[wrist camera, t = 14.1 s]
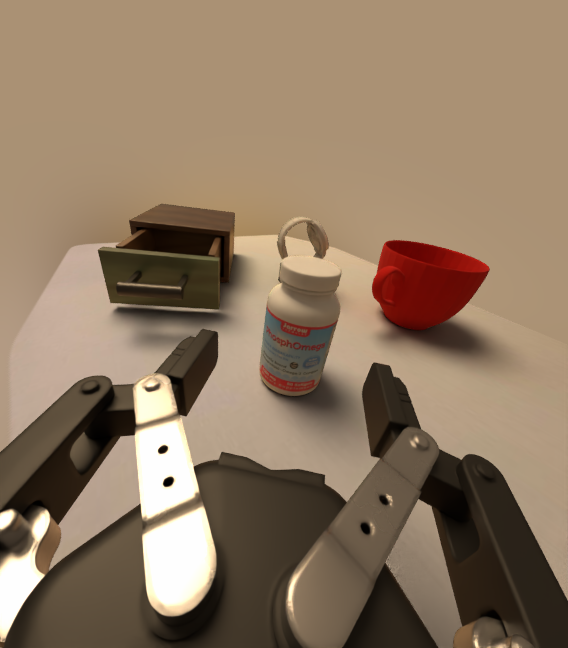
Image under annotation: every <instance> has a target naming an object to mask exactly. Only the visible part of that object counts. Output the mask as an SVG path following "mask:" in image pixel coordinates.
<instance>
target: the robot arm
mask: <svg viewBox="0 0 568 648" xmlns="http://www.w3.org/2000/svg"><path fill="white" fill-rule="evenodd" d="M217 359H218V333H217V332H216V331H211V330H206V329H202V330H201V331H200V332H199V334H198V335H197V336H196V337H191V336H190V337H189V338H187V339H185V340H183V341H182V342H181V343H180V344H179V345H178V346H177V347H176V349H175V350H174V351H173V352H172V354H171V355H170V356H169V357H168V358H167V359H166V360H165V361H164V363H163V364H162V365H161V366H160V367H159V368H158V370H157V371H156V372H155V373H154V374H149V375H146V376H144V377H142V378H140V379H139V380H138V381H137V382H136V383H135V384H127V385H112V382H111V380H110V379H109V378H108V377H106V376H91V377H87V378H84V379H82V380H80V381H78V382H77V383H75V384H74V385H73V386H72V387H71V388H70V389H69V390H68V391H66V392H65V393H64V394H63V395H62V396H61V397H60V398H59V399H58V400H57V401H56V402H54V403H53V404H52V405H51V406H50V407H49V408H48V409H47V410H46V411H45V412H44V413H42V414H41V415H40V416H39V417H38V418H37V419H36V420H35V421H34V422H33V423H32V424H31V425H29V426H28V427H27V428H26V429H25V430H24V431H23V432H22V433H21V434H20V435H19V436H17V437H16V438H15V439H14V440H13V441H12V442H11V443H10V444H9V445H8V446H7V447H6V448H5V449H3V450H2V451H1V452H0V647H2V648H438V646H437V645H436V643H435V642H434V640H433V638H432V637H431V635H430V634H429V632H428V630H427V629H426V627H425V626H424V624H423V622H422V621H421V619H420V618H419V616H418V614H417V613H416V611H415V610H414V608H413V606H412V605H411V603H410V601H409V600H408V598H407V597H406V595H405V593H404V592H403V590H402V589H401V587H400V585H399V584H398V582H397V581H396V579H395V577H394V576H393V574H392V573H391V571H390V569H389V568H388V566H387V565H386V563H385V562H386V560H387V558H388V556H389V554H390V552H391V550H392V548H393V546H394V544H395V542H396V541H397V539H398V537H399V535H400V533H401V531H402V529H403V527H404V525H405V523H406V521H407V519H408V518H409V516H410V514H411V512H412V510H413V508H414V506H415V504H416V502H417V500H418V499H420V500H421V501H423V502H425V503H427V504H428V505H430V506H432V510H433V514H434V517H435V521H436V525H437V529H438V533H439V537H440V541H441V545H442V549H443V553H444V557H445V561H446V565H447V568H448V572H449V576H450V580H451V584H452V588H453V592H454V596H455V600H456V604H457V608H458V612H459V616H460V619H461V623H462V627H461V628H459V629H458V630H457V632H456V633H455V636H454V641H453V648H568V600H567V598H566V596H565V594H564V593H563V591H562V589H561V587H560V585H559V583H558V581H557V579H556V577H555V575H554V573H553V571H552V569H551V567H550V565H549V564H548V562H547V560H546V558H545V556H544V554H543V552H542V550H541V548H540V546H539V544H538V542H537V540H536V538H535V536H534V535H533V533H532V531H531V529H530V527H529V525H528V523H527V521H526V519H525V517H524V515H523V513H522V511H521V509H520V507H519V505H518V504H517V502H516V500H515V498H514V496H513V494H512V492H511V490H510V488H509V486H508V484H507V482H506V480H505V478H504V477H503V475H502V474H501V472H500V471H499V470H498V469H497V468H496V467H495V466H494V465H493V464H492V463H491V462H489V461H488V460H486V459H484V458H482V457H480V456H478V455H473V454H468V455H466V456H465V457H464V458H463V459H462V460H461V459H458V458H456V457H454V456H452V455H450V454H448V453H446V452H444V451H442V450H440V449H439V448H438V445H437V443H436V442H435V440H434V439H433V438H432V437H431V436H430V435H429V434H428V433H426V432H425V431H423V430H421V427H420V425H419V422H418V419H417V416H416V413H415V411H414V408H413V405H412V404H411V400H410V397H409V394H408V391H407V388H406V386H405V385H404V384H403V382H402V381H401V380H400V379H399V378H397V377H393V374H392V371H391V368H390V366H389V365H384V364H378V363H373V364H372V366H371V368H370V371H369V373H368V376H367V378H366V381H365V383H364V386H363V391H362V398H363V405H364V411H365V418H366V425H367V431H368V438H369V445H370V451H371V456H373V457H378V458H380V460H379V461H378V462H377V464H376V465H375V466H374V467H373V469H372V470H371V471H370V473H369V474H368V475H367V477H366V478H365V479H364V481H363V482H362V483H361V485H360V486H359V487H358V489H357V490H356V491H355V493H354V494H353V495H352V497H351V498H350V499H349V500H348V502H346V501H345V500H344V499H343V498H342V497H341V495H340V494H338V493H337V492H336V491H335V490H333V489H332V488H331V487H329V486H327V485H326V484H325V475H323V474H318V473H314V472H309V471H305V470H300V469H292V470H270V469H268V468H266V467H264V466H262V465H260V464H258V463H256V462H255V461H253V460H251V459H249V458H247V457H243V456H238V455H234V454H229V453H225V452H222V453H221V455H220V458H219V460H213V461H208V462H204V463H201V464H199V465H196V466H194V467H193V464H192V460H191V456H190V452H189V448H188V444H187V440H186V436H185V432H184V428H183V424H182V420H181V417H180V415H182V416H187V414H188V413H189V411H190V409H191V408H192V406H193V404H194V402H195V401H196V399H197V397H198V395H199V394H200V392H201V390H202V388H203V387H204V385H205V383H206V382H207V380H208V378H209V376H210V375H211V373H212V371H213V369H214V368H215V366H216V363H217ZM130 435H135V439H136V451H137V463H138V474H139V486H140V498H141V504H139V505H138V506H136V507H135V508H134V509H132V510H131V511H129V512H128V513H127V514H125V515H124V516H122V517H121V518H120V519H118V520H117V521H115V522H114V523H112V524H111V525H110V526H108V527H107V528H105V529H104V530H103V531H101V532H100V533H98V534H97V535H96V536H94V537H93V538H91V539H90V540H89V541H87V542H86V543H84V544H83V545H81V546H80V547H79V548H77V549H76V550H74V551H73V552H72V553H70V554H69V555H67V556H66V557H65V558H63V559H62V560H61V561H60V562H58V563H57V564H56V565H55V566H54V567H53V568H52V569H51V570H50V571H49V567H50V563H51V560H52V558H53V556H54V554H55V552H56V550H57V548H58V546H59V544H60V540H61V530H60V527H59V526H58V525H59V523H60V522H61V520H62V519H63V518H64V516H65V515H66V513H67V512H68V510H69V509H70V508H71V506H72V505H73V503H74V502H75V501H76V499H77V498H78V496H79V495H80V493H81V492H82V491H83V489H84V488H85V486H86V485H87V483H88V482H89V481H90V479H91V478H92V476H93V475H94V474H95V472H96V471H97V469H98V468H99V466H100V465H101V464H102V462H103V461H104V459H105V458H106V456H107V455H108V454H109V452H110V451H111V449H112V448H113V447H114V445H115V444H116V442H117V441H118V439H119V438H120V437H121V436H130Z"/></svg>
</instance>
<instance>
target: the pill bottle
mask: <svg viewBox="0 0 568 648" xmlns="http://www.w3.org/2000/svg"><path fill="white" fill-rule="evenodd" d="M279 277H280V281H281V283H280V284H278V285H276V286H275V287H274V288H273V289H272V290H271V292H270V293H269V296H268V301H267V308H266V316H265V324H264V333H263V341H262V350H261V358H260V376H261V378H262V380H263V382H264V383H265V384H266V385H267V386H268V387H269V388H270V389H272V390H274V391H276V392H278V393H280V394H284V395H289V396H300V395H304V394H307V393H309V392H311V391H313V390H314V389H315V388H316V387H317V385H318V384H319V381H320V378H321V375H322V372H323V368H324V365H325V361H326V358H327V355H328V352H329V348H330V345H331V342H332V338H333V335H334V331H335V328H336V325H337V321H338V318H339V314H340V303H339V300H338V299H337V297H336V296H335V294H334V292H335V291H336V290H337V287H338V286H339V281H340V277H341V269H340V268H339V267H338V266H337V265H335V264H334V263H332V262H329V261H327V260H324V259H320V258H316V257H311V256H299V255H298V256H289V257H286V258H284V259H283V260H282V262H281V268H280V273H279Z"/></svg>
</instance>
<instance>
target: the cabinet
mask: <svg viewBox="0 0 568 648" xmlns="http://www.w3.org/2000/svg"><path fill="white" fill-rule="evenodd" d="M234 219H235V213H233V212H225V211H216V210H208V209H200V208H192V207H183V206H176V205H168V204H160V205H158V206H156V207H154V208H152V209H150V210H148V211H146V212H144V213H143V214H140V215H138V216H137V217H135V218H133V219H131V220H129V222H130V227H131V234H132V235H133V234H135V233H136V232H138V231H139V230H141V229H142V228H153V229H163V230H172V231H181V232H191V233H200V234H209V235H219V236H223V267H222V271H221V275H220V282H229V278H230V272H231V265H232V259H233V253H234V221H235V220H234Z"/></svg>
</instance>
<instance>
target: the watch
mask: <svg viewBox="0 0 568 648" xmlns="http://www.w3.org/2000/svg"><path fill="white" fill-rule="evenodd" d="M302 222H306V223H307V233H308V236H309V239H310V241H311V243H312V245H313V246H314V250H315V252H316V253H315V256H313V257H316V258H320V259H323V258H324V256H325V255H326V250H327V249H328V248H329V243H328V238H327V236H326V233H325V231H324V229H323V227H322V226H321V225H320V223H319V222H318V221H317V220H314V221H312V220H310V219H309V218H306V217H295V218H293V219H291V220H289V221H288V222H287V223H285V225H284V226H283V227H282V228H281V230H280V233H279V235H278V237H279V238H278V241H277V245H278V250H279V253H280V255H281V258H282V259H284V258H286V257H288V254H287V250H286V246H285V236H286V234H287V232H288V231H289V230H290V229H291V228H292V227H294V226H295V225H297V223H298V224H299V223H302ZM280 268H281V264H280ZM279 273H280V272H279ZM278 280H279V281H280V277H279V279H278ZM280 282H281V281H280Z"/></svg>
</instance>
